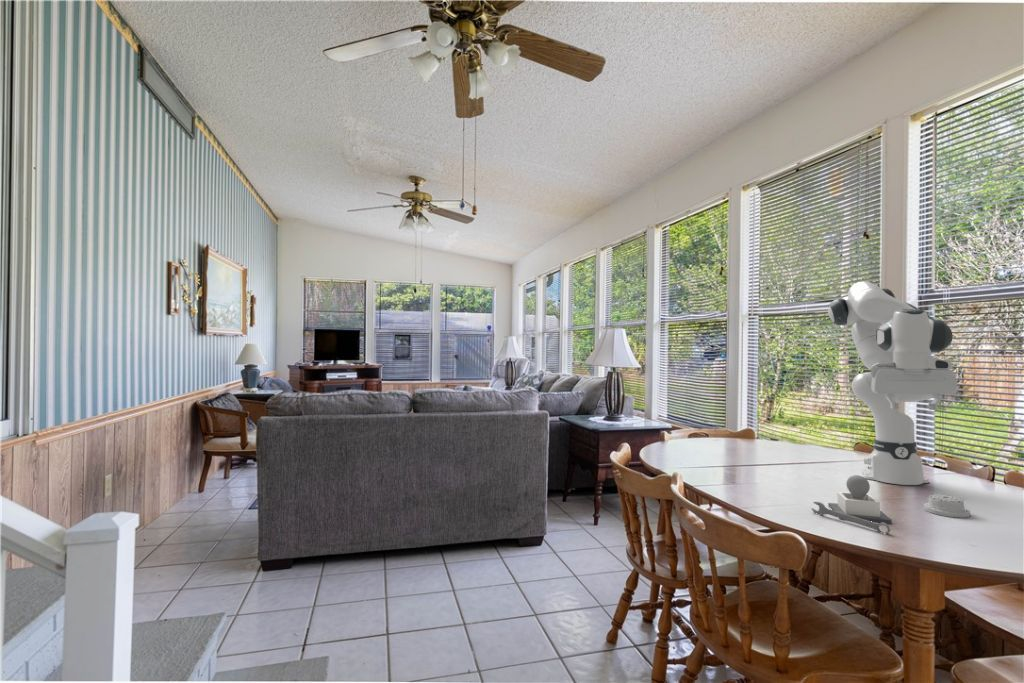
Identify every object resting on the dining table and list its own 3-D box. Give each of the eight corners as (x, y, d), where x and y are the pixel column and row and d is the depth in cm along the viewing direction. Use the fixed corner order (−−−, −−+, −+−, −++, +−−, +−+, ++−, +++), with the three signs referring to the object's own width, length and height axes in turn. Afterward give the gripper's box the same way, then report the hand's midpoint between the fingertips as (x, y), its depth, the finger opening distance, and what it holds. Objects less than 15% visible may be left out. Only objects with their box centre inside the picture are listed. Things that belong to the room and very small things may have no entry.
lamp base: (828, 506, 147) (827, 489, 147) (875, 510, 143) (875, 492, 143) (839, 519, 136) (839, 501, 136) (891, 523, 132) (891, 505, 132)
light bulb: (874, 512, 138) (873, 476, 139) (863, 514, 136) (862, 478, 136) (853, 506, 143) (853, 472, 144) (842, 509, 141) (842, 474, 141)
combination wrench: (890, 522, 125) (813, 499, 143) (888, 523, 124) (810, 500, 142) (891, 537, 125) (813, 512, 143) (888, 538, 124) (810, 513, 142)
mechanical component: (927, 505, 148) (920, 512, 141) (926, 490, 148) (920, 497, 141) (972, 513, 140) (967, 521, 134) (971, 497, 140) (966, 505, 134)
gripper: (874, 363, 146) (875, 409, 146) (959, 362, 139) (961, 411, 139) (867, 362, 152) (868, 407, 152) (948, 362, 145) (950, 409, 145)
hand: (913, 409), depth 145 cm, fingers open, 8 cm apart
